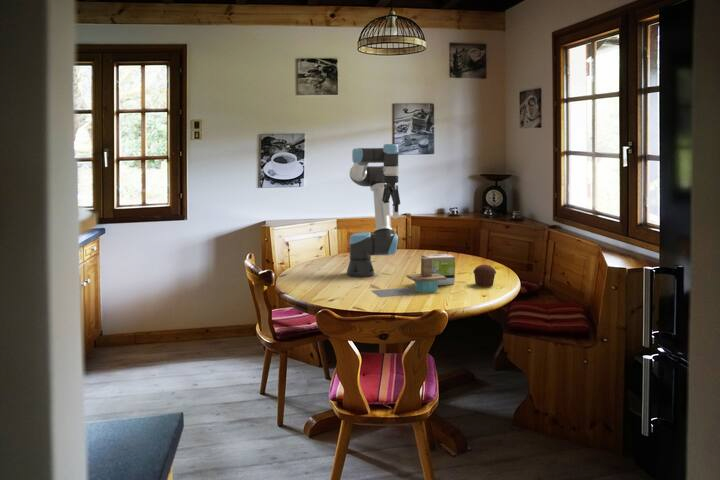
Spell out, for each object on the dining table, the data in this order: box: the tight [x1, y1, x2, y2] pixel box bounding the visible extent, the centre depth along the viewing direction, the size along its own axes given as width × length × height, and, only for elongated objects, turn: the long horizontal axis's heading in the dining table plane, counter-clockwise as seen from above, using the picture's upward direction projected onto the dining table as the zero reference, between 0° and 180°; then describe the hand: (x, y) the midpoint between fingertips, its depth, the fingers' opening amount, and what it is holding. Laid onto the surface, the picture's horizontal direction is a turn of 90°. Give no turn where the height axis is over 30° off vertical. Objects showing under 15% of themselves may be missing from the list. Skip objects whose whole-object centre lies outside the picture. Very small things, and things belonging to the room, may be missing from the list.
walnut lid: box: [406, 257, 447, 283], centre depth 295 cm, size 12×16×10 cm
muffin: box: [472, 264, 497, 287], centre depth 307 cm, size 12×11×10 cm
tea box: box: [420, 253, 456, 286], centre depth 310 cm, size 15×10×15 cm
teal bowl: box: [414, 280, 439, 293], centre depth 296 cm, size 11×11×6 cm
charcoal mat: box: [371, 287, 420, 298], centre depth 292 cm, size 14×20×1 cm
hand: (391, 217), depth 306 cm, fingers open, 13 cm apart
